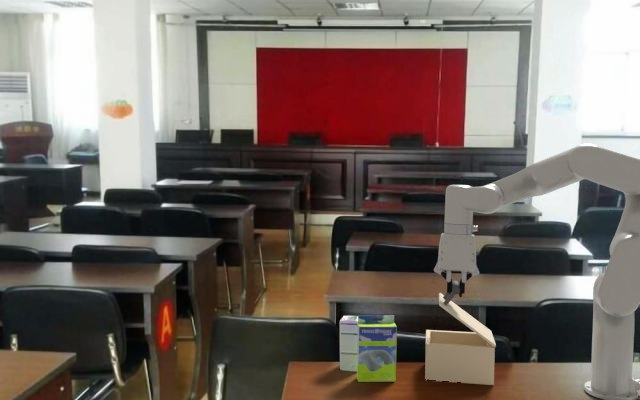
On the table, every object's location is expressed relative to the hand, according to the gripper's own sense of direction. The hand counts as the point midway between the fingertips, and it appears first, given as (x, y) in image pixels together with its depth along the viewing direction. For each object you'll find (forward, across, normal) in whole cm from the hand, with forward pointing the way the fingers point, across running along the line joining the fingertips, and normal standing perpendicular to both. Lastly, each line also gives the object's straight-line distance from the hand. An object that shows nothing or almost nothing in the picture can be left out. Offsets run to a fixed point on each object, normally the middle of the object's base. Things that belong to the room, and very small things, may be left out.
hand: (455, 295), depth 171 cm
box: (+23, +20, +9) cm, 32 cm away
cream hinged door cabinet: (+22, -2, 0) cm, 22 cm away
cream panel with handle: (+7, -3, 0) cm, 7 cm away
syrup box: (+23, +28, +1) cm, 36 cm away
